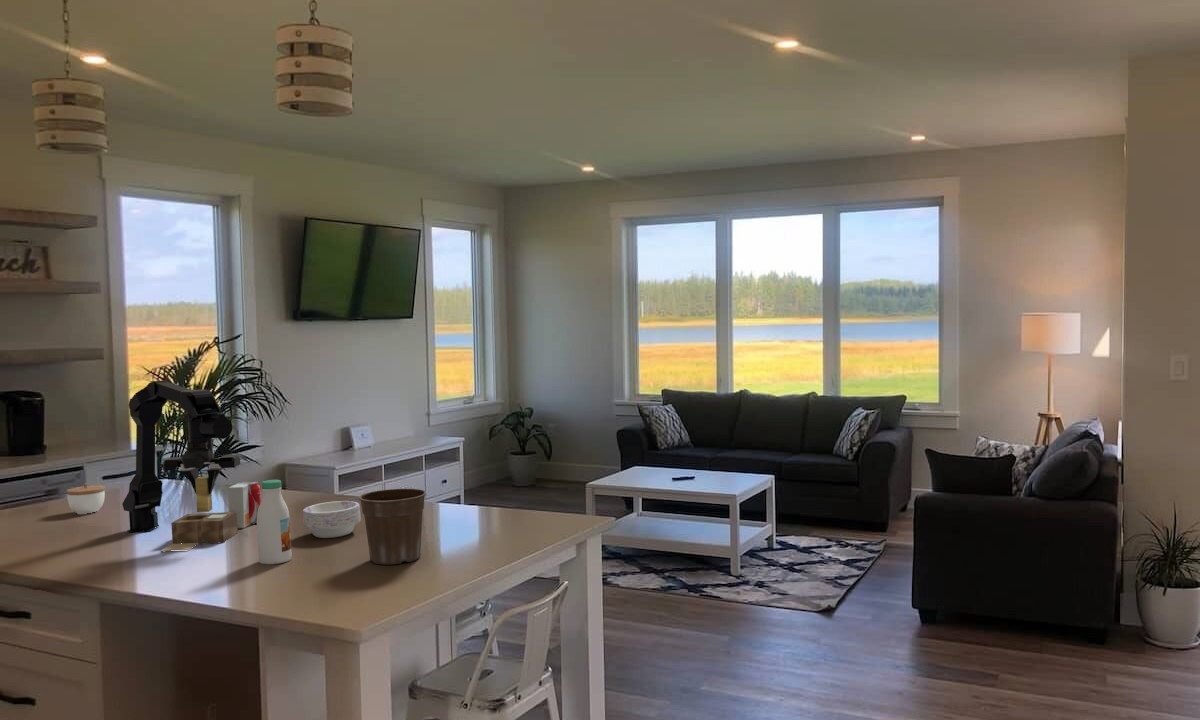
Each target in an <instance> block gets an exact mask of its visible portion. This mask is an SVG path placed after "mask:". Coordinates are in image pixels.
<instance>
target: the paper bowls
mask: <svg viewBox="0 0 1200 720" xmlns="http://www.w3.org/2000/svg"><path fill="white" fill-rule="evenodd" d="M361 519H362V518H361V504H360V503H359V502H357V501H351V500H340V501H339V500H337V501H336V500H335V501H329V502H328V501H327V502H321V503H316V504H312V505H309V506H306V507H304V508H303V510H302V520H303V522H302V523H303V527H304V528H305V529H309V531H311V534H312V535H313V536H314V537H316V538H319V539H334V538H340V537H344V536H347V535H349V534H351V533H352V532H353V530H354V528H355V525H357V524H358V523H360V522H361Z"/></svg>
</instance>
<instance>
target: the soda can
mask: <svg viewBox="0 0 1200 720" xmlns="http://www.w3.org/2000/svg"><path fill="white" fill-rule="evenodd" d="M236 484H241V485H245V484H248V502H249V523H250V525H255V523H256V524H257V512H258V508H259V506H260V503H261V501H262V488H261V486H260V484H259V481H258V480H245V481H244V480H243V481H239V482H237V483H236Z"/></svg>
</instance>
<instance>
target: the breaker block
mask: <svg viewBox="0 0 1200 720" xmlns="http://www.w3.org/2000/svg"><path fill="white" fill-rule="evenodd" d="M222 514H227V516H225V517H224V518H217V519H207V518H208V517H209V516H211V515H222ZM237 532H238V528H237V513H236V512H229V511H228V512H227V511H226V512H197V513H186V514H185V515H183V516H181V517H180V518H177V519H175V520H174V521H172V522H171V539H172V544H181V543H206V544H219V543H218V542H224V543H225V541H226V540H227V541H229V540H230V539H232V538H233V537H234V536H235V535H237V534H238V533H237ZM236 533H237V534H236ZM233 535H234V536H233ZM232 536H233V537H232ZM229 538H230V539H229ZM227 541H226V542H227Z"/></svg>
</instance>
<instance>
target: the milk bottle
mask: <svg viewBox="0 0 1200 720" xmlns="http://www.w3.org/2000/svg"><path fill="white" fill-rule="evenodd" d="M281 491H282V480H280V479H268V480H264V481H262V482H261V492H262V496H261V503H260V506H259V508H258V512H257V523H256V532H257V533H256V534H257V553H258V562H259V563H260V564H261V565H278V564H282V563H283V564H284V563H287V562H289V561H291V559H292V555H293V554H292V540H291V539H292V538H291V520H290V512H289V508H288V505H287V504H286V501H285V500H284V498H283V496H282V492H281Z"/></svg>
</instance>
